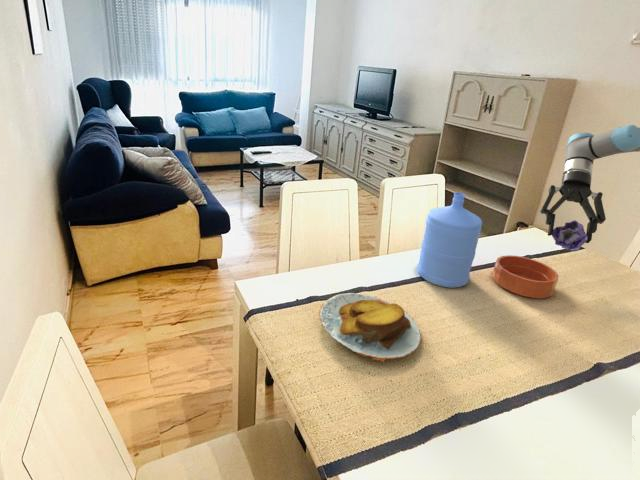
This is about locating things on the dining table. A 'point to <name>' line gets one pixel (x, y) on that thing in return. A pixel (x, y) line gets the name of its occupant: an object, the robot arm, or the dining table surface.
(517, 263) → the pot
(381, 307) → the food on plate
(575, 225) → the flower
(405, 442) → the dining table surface
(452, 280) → the water jug
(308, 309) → the dining table surface
